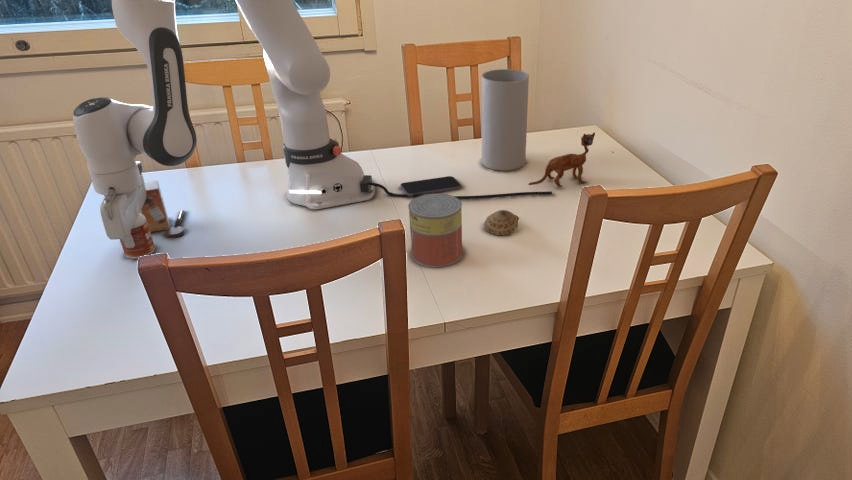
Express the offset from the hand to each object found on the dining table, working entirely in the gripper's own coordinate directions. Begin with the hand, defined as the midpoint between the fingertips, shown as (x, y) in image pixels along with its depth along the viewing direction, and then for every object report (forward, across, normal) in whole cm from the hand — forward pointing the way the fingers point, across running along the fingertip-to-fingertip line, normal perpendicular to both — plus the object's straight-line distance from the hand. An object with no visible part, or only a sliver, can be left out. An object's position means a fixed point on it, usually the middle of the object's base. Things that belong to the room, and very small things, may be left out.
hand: (135, 237), depth 141 cm
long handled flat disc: (+4, +12, -6) cm, 14 cm away
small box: (+4, +12, 0) cm, 13 cm away
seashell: (+4, -6, -81) cm, 81 cm away
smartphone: (+4, +19, -68) cm, 71 cm away
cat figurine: (+4, +14, -102) cm, 103 cm away
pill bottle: (+4, 0, 0) cm, 4 cm away
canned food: (+4, -15, -64) cm, 66 cm away
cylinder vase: (+4, +31, -91) cm, 96 cm away
